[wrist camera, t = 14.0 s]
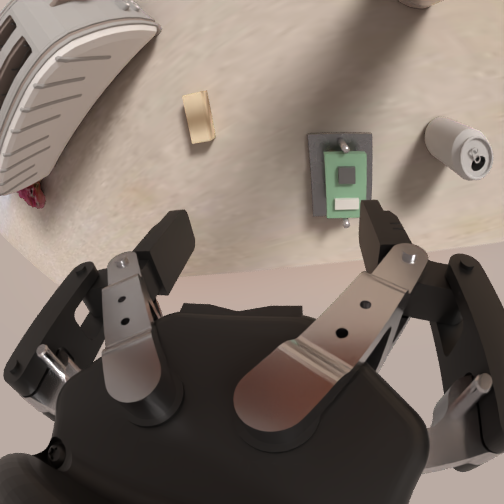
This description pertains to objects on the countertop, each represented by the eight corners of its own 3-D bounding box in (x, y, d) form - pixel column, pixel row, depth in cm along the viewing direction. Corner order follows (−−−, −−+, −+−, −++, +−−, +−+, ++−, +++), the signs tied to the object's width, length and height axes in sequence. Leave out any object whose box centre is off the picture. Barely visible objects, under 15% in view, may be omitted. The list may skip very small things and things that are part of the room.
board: (323, 151, 36) (324, 155, 34) (364, 151, 35) (367, 155, 33) (326, 213, 42) (327, 220, 40) (363, 212, 40) (366, 219, 39)
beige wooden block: (189, 94, 38) (182, 95, 35) (206, 90, 37) (200, 91, 35) (198, 139, 42) (192, 143, 40) (215, 136, 41) (210, 140, 39)
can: (434, 166, 37) (468, 195, 27) (414, 129, 34) (448, 147, 25) (464, 145, 33) (503, 169, 23) (445, 108, 31) (486, 121, 21)
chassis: (307, 133, 39) (308, 142, 34) (370, 132, 37) (381, 141, 31) (313, 213, 46) (314, 233, 41) (369, 212, 44) (377, 231, 39)
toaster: (186, 20, 30) (96, -9, 12) (56, 174, 50) (-13, 223, 32) (125, -36, 22) (39, -60, 4) (18, 118, 42) (-50, 151, 24)
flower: (49, 195, 58) (18, 204, 51) (46, 160, 53) (13, 169, 46) (54, 210, 52) (19, 221, 45) (50, 170, 47) (12, 181, 40)
